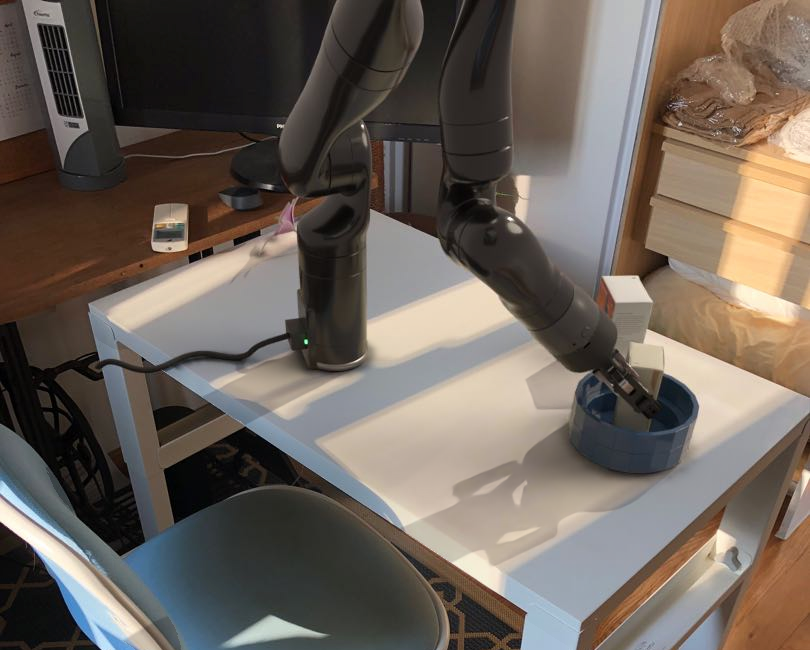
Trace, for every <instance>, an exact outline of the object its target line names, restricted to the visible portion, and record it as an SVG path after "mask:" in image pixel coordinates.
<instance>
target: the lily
mask: <svg viewBox="0 0 810 650" xmlns="http://www.w3.org/2000/svg"><path fill="white" fill-rule="evenodd" d="M298 199H299V197H298V196H296V198H293V199H292V201H291V202H290V201H288V202H287V204H286V205H285V207H284V208H283V210H282V211H281V213H280V214H278V215H277V214H275V215H274V216H273V217H272V218H271V219H272V220H276V221H278V225H277V227H276V228H275V230H274V232H273V233H272V234H271V235H270V236H269V237H267V239H266V240H265V242H264V244H263V245H262V247H261V249H260V251H259V253H258V255H261V253H262V252H263V249H264V248H265V246H266V245H267V243H268V242H269V241H270V240H271V239H272V238H273V237H274V239H277V238H278V236H281V235H283V234H288V233H293V232H295V234H297V228H296V226H295V220H294V211H295V210H294V209H295V205H296V204H297V201H298Z"/></svg>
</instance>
